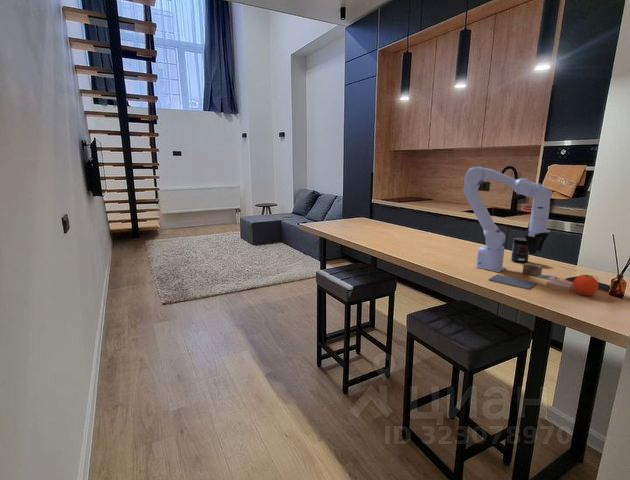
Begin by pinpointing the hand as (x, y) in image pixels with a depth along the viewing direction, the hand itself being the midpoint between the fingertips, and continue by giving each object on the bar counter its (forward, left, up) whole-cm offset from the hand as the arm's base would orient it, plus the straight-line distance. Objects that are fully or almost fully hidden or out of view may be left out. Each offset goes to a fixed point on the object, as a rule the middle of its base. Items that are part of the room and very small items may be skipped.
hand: (534, 251), depth 139 cm
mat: (-2, -16, -9) cm, 18 cm away
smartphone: (+19, +3, -10) cm, 22 cm away
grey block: (+3, 0, -9) cm, 10 cm away
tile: (+8, -8, -9) cm, 14 cm away
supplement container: (-10, +17, -10) cm, 22 cm away
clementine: (+20, -11, -10) cm, 24 cm away
